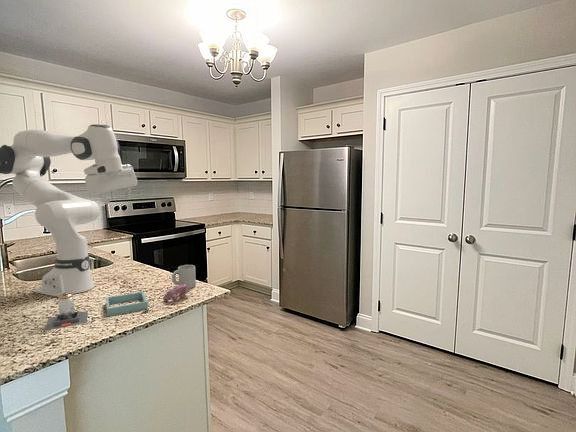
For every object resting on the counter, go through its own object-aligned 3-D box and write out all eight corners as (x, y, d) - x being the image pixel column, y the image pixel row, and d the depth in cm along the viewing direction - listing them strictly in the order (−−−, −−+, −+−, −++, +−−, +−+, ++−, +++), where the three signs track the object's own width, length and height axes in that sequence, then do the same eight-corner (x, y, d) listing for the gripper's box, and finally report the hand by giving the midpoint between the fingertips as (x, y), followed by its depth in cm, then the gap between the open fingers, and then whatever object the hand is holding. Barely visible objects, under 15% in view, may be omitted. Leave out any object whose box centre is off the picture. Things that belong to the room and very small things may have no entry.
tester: (44, 335, 96) (43, 327, 96) (49, 321, 105) (48, 314, 105) (87, 327, 102) (86, 319, 101) (88, 314, 111) (87, 307, 111)
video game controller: (168, 307, 122) (173, 292, 120) (161, 299, 124) (165, 285, 122) (188, 299, 130) (193, 285, 128) (181, 292, 132) (186, 279, 130)
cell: (56, 322, 102) (54, 295, 101) (67, 317, 106) (65, 290, 105) (67, 323, 101) (65, 295, 100) (77, 318, 105) (75, 291, 104)
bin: (107, 320, 106) (106, 309, 106) (106, 307, 117) (106, 297, 117) (148, 312, 113) (147, 301, 112) (143, 301, 124) (143, 291, 123)
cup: (196, 287, 139) (195, 268, 139) (172, 290, 136) (171, 270, 135) (195, 283, 146) (194, 264, 145) (172, 285, 142) (171, 266, 142)
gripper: (126, 164, 134) (133, 195, 138) (79, 170, 117) (88, 207, 120) (137, 163, 132) (144, 195, 135) (90, 169, 114) (99, 207, 117)
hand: (117, 201), depth 127 cm, fingers open, 8 cm apart
